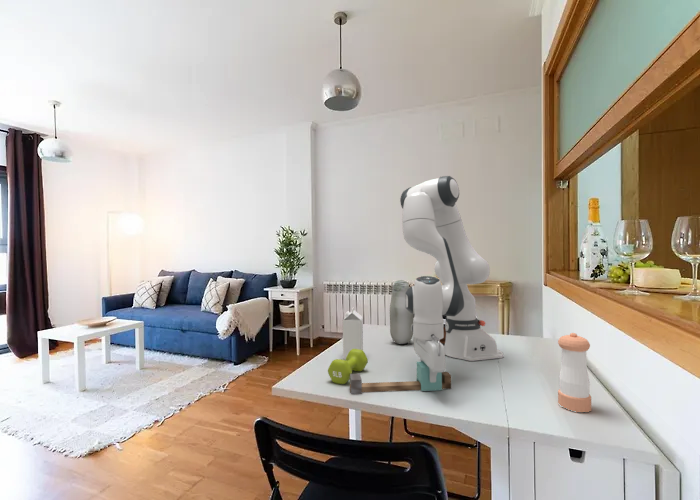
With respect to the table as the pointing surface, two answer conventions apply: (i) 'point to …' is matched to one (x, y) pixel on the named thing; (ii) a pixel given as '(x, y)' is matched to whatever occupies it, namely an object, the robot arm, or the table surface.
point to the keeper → (423, 378)
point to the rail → (391, 385)
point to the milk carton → (352, 332)
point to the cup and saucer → (443, 337)
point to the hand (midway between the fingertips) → (428, 377)
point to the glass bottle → (400, 314)
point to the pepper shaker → (574, 374)
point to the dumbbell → (347, 366)
